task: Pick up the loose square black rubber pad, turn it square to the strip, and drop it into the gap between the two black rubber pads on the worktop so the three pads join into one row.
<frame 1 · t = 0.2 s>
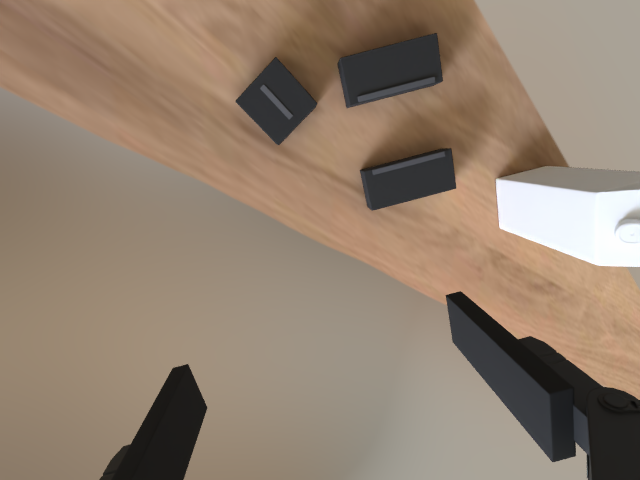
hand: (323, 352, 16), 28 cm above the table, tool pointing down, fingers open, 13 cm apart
loose pad: (278, 105, 38), on the table
pad row: (395, 128, 40), on the table
milk carton: (520, 197, 44), on the table
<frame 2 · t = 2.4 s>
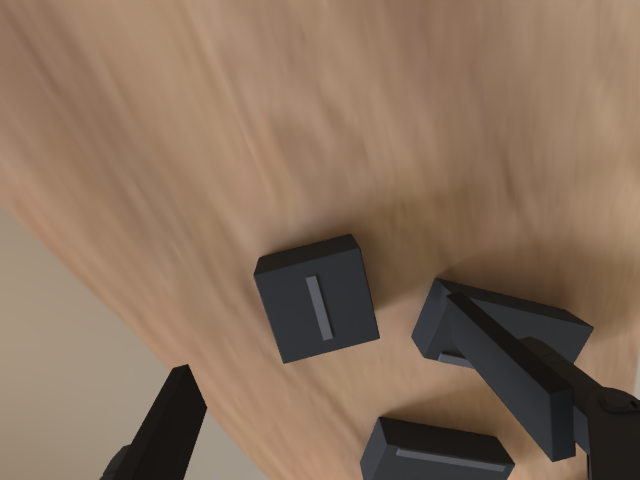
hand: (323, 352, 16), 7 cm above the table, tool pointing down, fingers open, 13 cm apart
loose pad: (316, 287, 22), on the table
pad row: (456, 390, 26), on the table
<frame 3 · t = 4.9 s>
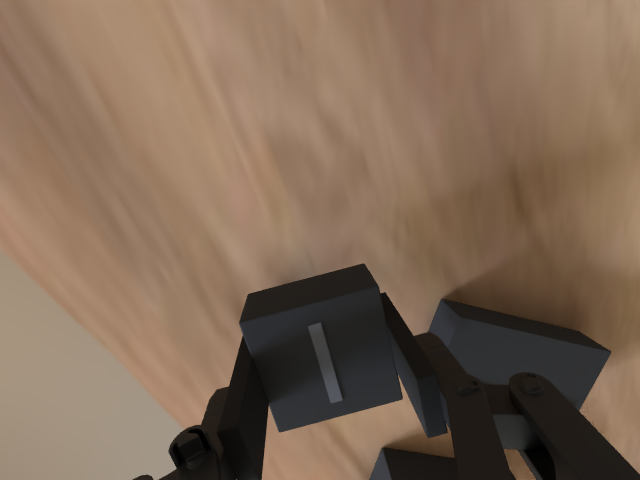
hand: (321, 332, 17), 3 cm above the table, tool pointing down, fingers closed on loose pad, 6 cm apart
loose pad: (320, 329, 18), point 3 cm above the table, touching gripper
pad row: (465, 418, 24), on the table
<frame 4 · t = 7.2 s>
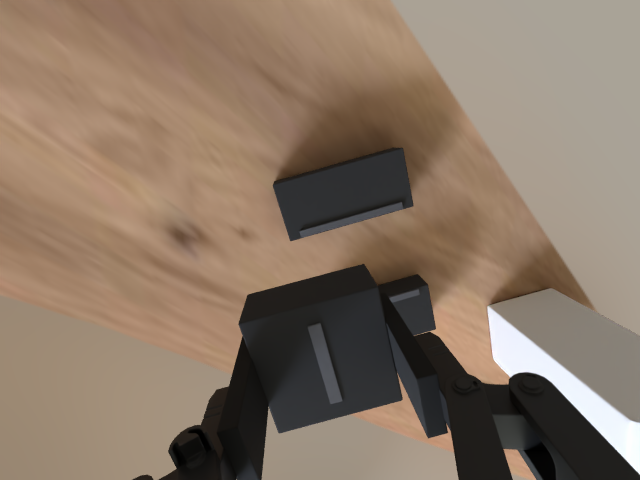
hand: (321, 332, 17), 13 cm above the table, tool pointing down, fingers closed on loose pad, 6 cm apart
loose pad: (320, 330, 18), point 13 cm above the table, touching gripper
pad row: (356, 254, 31), on the table
milk carton: (519, 322, 35), on the table
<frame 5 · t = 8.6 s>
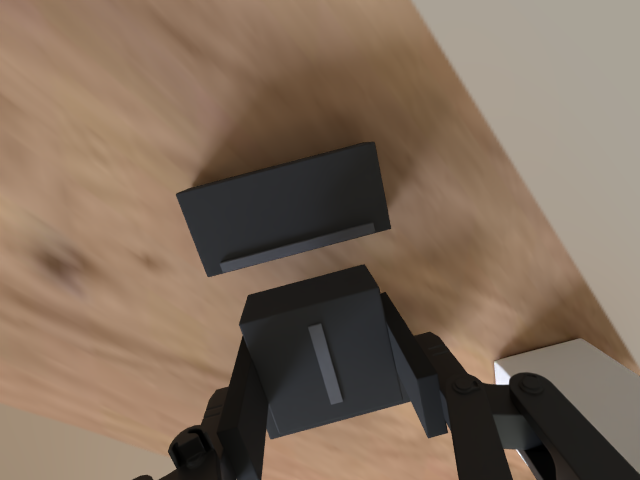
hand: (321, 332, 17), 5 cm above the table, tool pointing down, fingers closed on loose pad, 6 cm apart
loose pad: (320, 330, 18), point 4 cm above the table, touching gripper
pad row: (313, 292, 22), on the table
milk carton: (535, 381, 26), on the table
when the fingers open (0 cm above the table, at t = 9.9 s): loose pad stays where it is, on the table.
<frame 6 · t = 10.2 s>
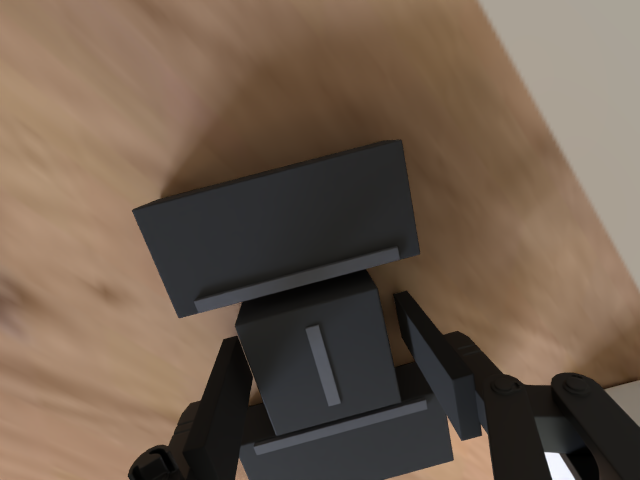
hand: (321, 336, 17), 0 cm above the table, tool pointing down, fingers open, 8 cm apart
loose pad: (318, 330, 18), on the table
pad row: (316, 328, 17), on the table
milk carton: (583, 429, 22), on the table
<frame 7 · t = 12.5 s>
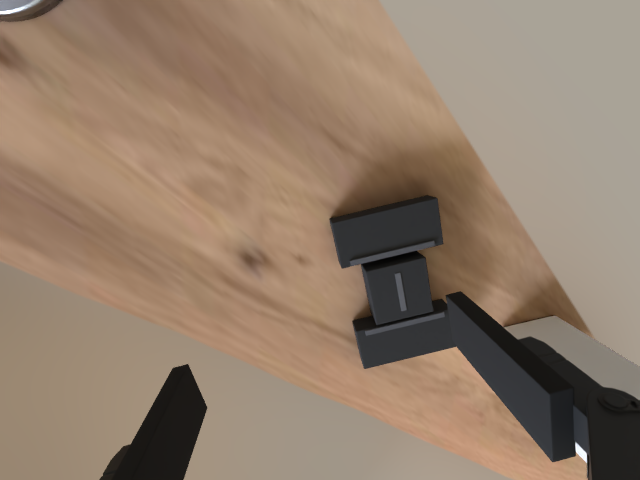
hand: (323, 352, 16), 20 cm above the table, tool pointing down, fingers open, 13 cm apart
loose pad: (392, 281, 37), on the table
pad row: (391, 280, 37), on the table
milk carton: (526, 344, 41), on the table
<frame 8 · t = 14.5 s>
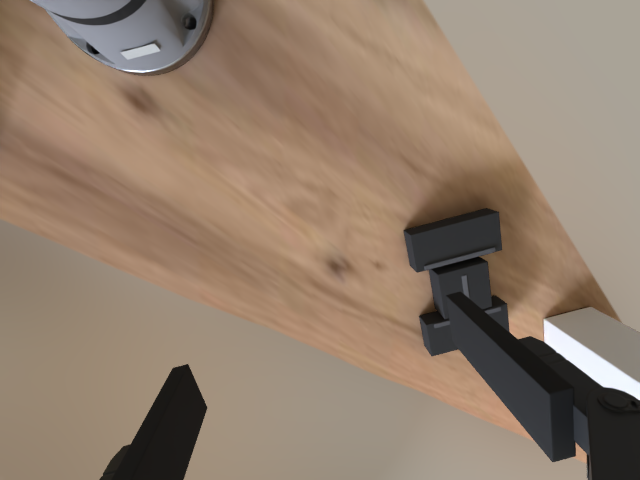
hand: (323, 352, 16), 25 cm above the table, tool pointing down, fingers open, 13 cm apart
loose pad: (454, 281, 43), on the table
pad row: (453, 280, 43), on the table
milk carton: (565, 331, 47), on the table
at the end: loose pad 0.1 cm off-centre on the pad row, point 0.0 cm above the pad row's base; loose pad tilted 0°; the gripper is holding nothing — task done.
